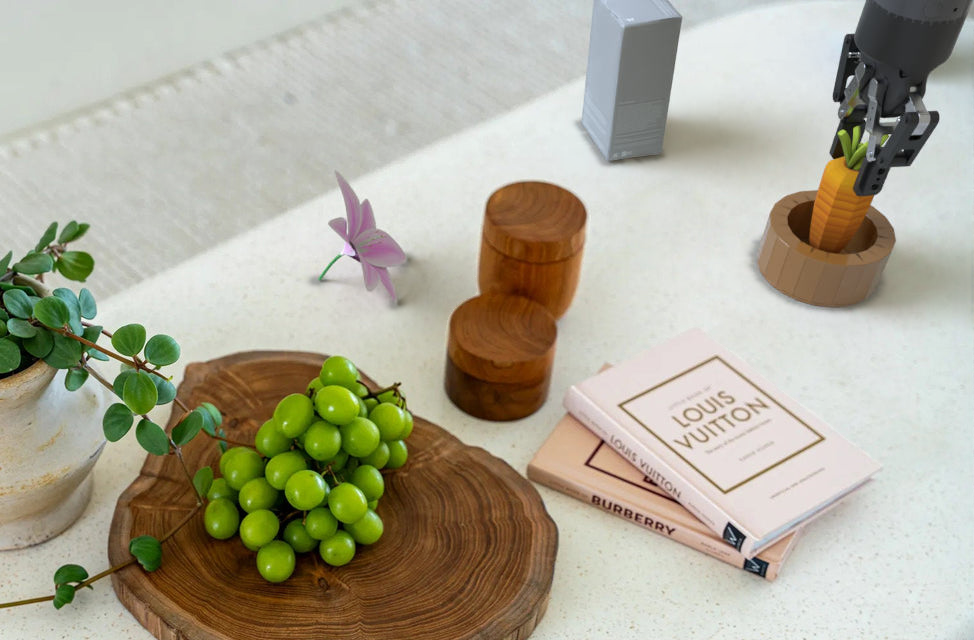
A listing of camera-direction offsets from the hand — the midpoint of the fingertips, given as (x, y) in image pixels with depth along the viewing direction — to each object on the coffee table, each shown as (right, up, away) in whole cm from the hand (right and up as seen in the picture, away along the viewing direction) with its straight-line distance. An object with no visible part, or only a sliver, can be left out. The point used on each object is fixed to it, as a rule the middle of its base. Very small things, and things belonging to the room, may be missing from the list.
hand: (852, 174), depth 102 cm
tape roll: (0, -7, +8) cm, 11 cm away
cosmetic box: (-16, +8, +23) cm, 29 cm away
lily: (-43, -9, +6) cm, 45 cm away
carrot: (0, -7, +8) cm, 11 cm away
